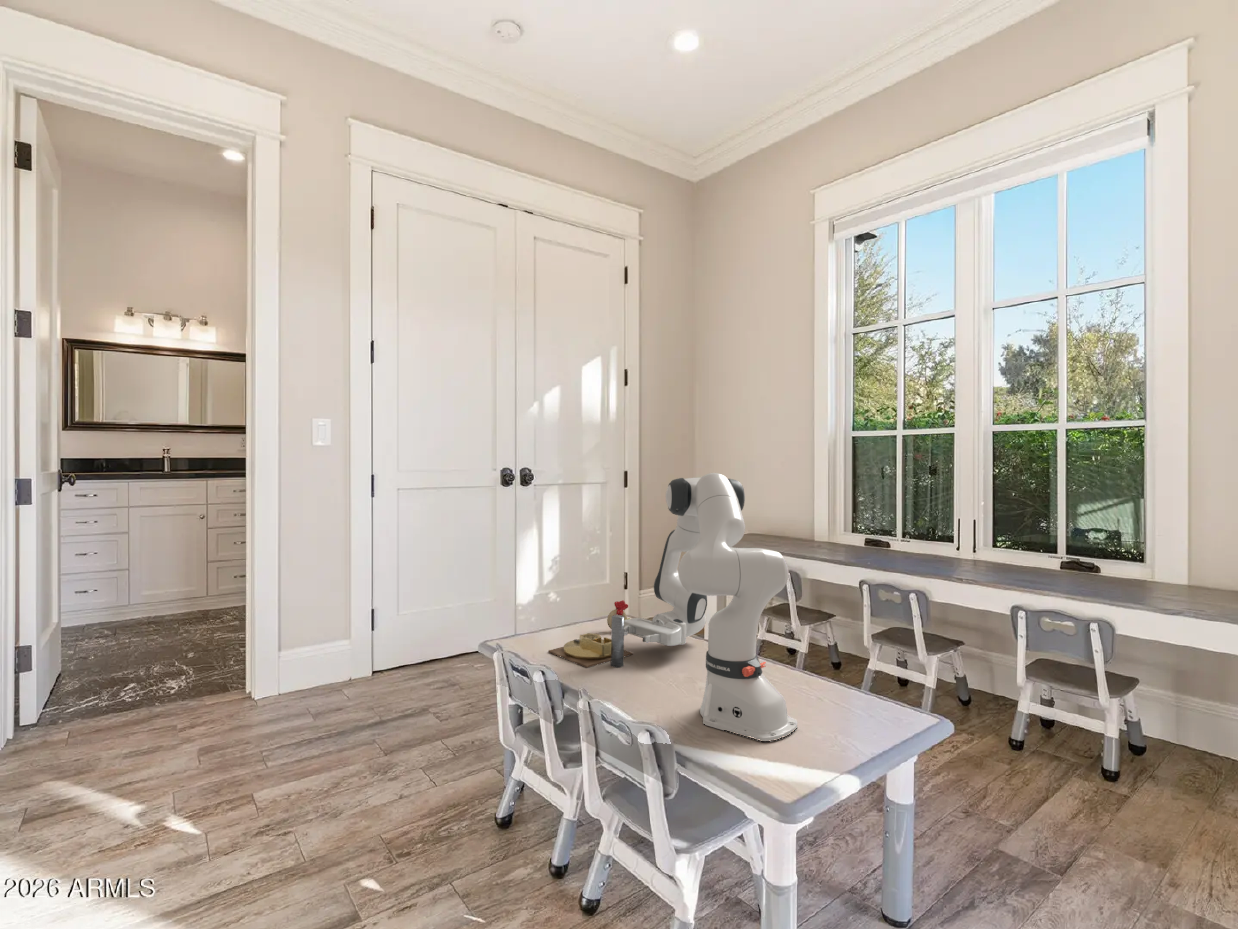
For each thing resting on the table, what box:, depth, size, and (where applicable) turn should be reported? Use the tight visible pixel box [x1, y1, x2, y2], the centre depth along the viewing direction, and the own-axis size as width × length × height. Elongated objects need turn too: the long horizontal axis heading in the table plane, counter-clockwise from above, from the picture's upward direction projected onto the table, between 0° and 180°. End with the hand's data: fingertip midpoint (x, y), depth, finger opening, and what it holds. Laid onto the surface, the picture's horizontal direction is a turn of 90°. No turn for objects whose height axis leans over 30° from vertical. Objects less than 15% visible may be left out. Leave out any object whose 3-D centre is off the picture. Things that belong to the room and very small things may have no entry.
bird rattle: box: [606, 600, 631, 630], centre depth 213 cm, size 6×11×9 cm
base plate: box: [547, 646, 633, 669], centre depth 189 cm, size 18×18×1 cm
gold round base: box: [563, 632, 611, 660], centre depth 189 cm, size 17×16×4 cm
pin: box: [610, 615, 625, 668], centre depth 179 cm, size 4×4×14 cm
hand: (632, 636), depth 183 cm, fingers open, 8 cm apart
